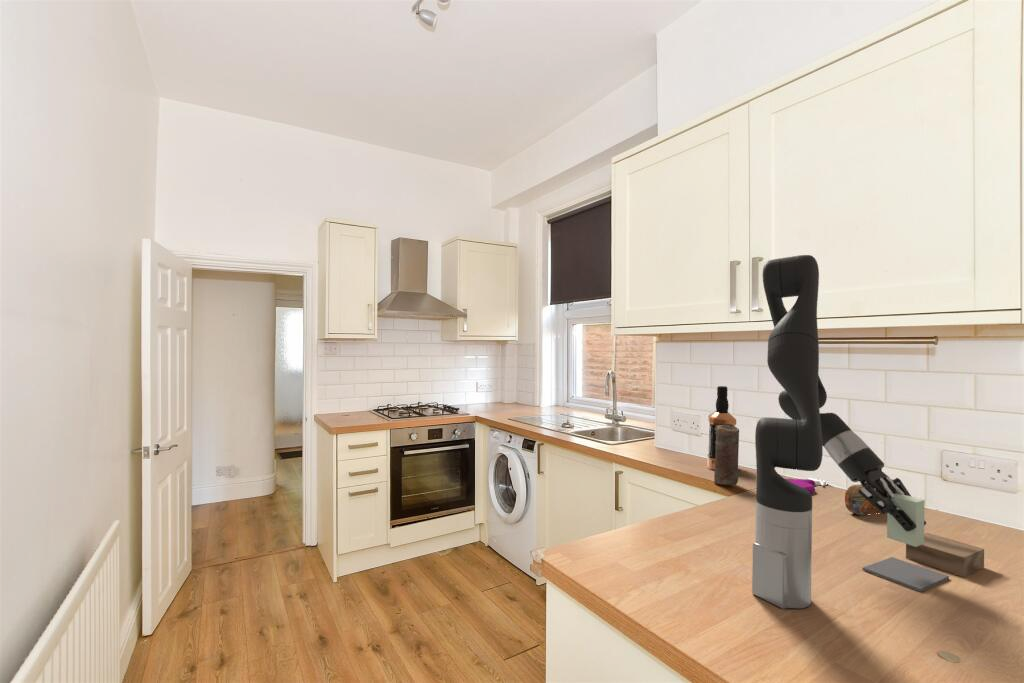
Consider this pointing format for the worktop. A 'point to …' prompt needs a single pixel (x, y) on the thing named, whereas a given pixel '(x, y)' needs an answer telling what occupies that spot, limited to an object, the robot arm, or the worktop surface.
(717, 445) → the candle
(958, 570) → the brown rectangular box
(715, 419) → the whiskey bottle
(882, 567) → the mat
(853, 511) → the tin
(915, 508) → the pale green rectangular block
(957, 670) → the worktop surface
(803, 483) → the spray bottle
